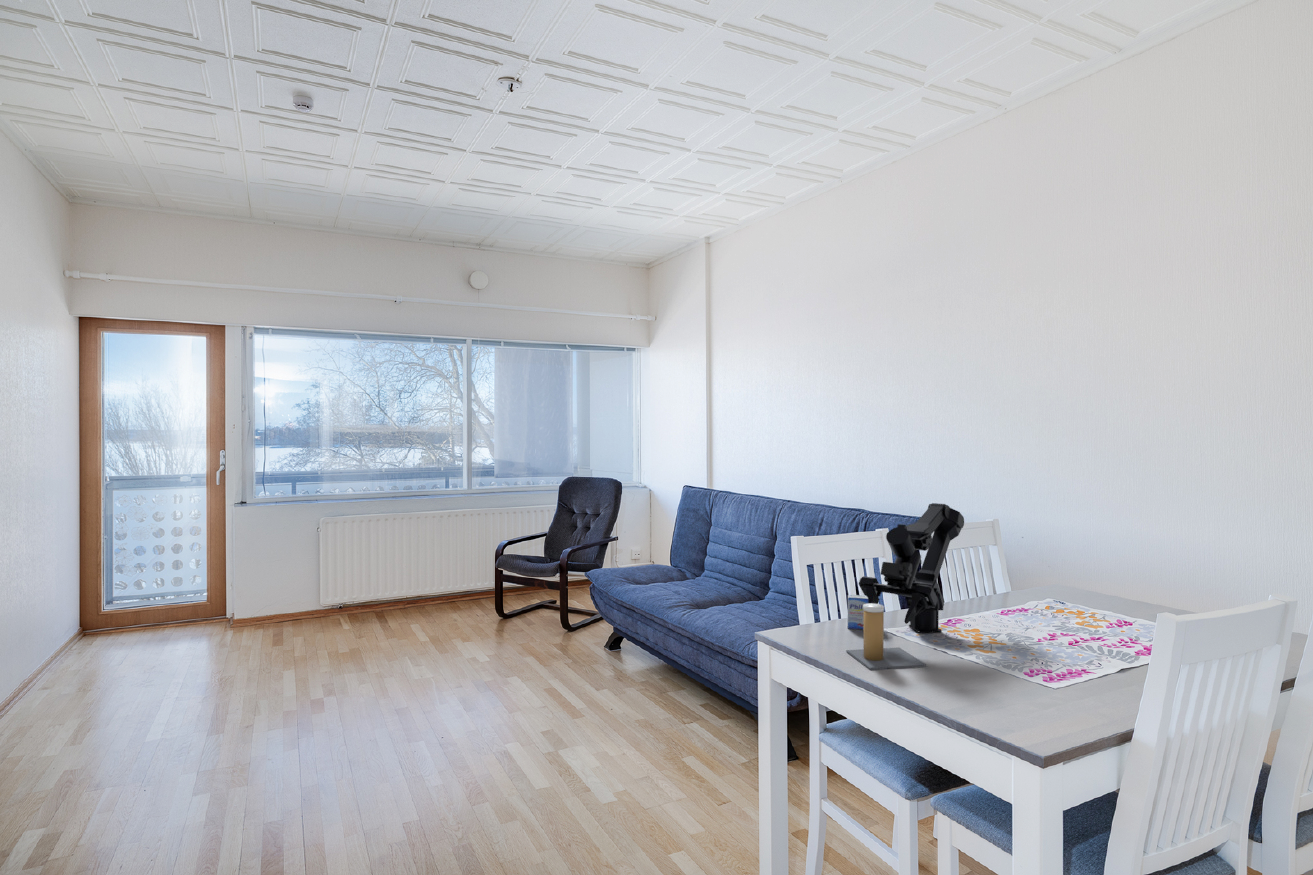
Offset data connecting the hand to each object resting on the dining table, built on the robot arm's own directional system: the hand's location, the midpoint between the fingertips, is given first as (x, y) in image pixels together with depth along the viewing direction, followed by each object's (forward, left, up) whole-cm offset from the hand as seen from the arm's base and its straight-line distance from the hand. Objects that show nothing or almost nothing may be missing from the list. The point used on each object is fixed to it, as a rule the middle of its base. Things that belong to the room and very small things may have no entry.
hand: (887, 619), depth 180 cm
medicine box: (-3, -21, -8) cm, 23 cm away
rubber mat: (+3, +5, -8) cm, 10 cm away
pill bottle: (+6, +5, -8) cm, 11 cm away
